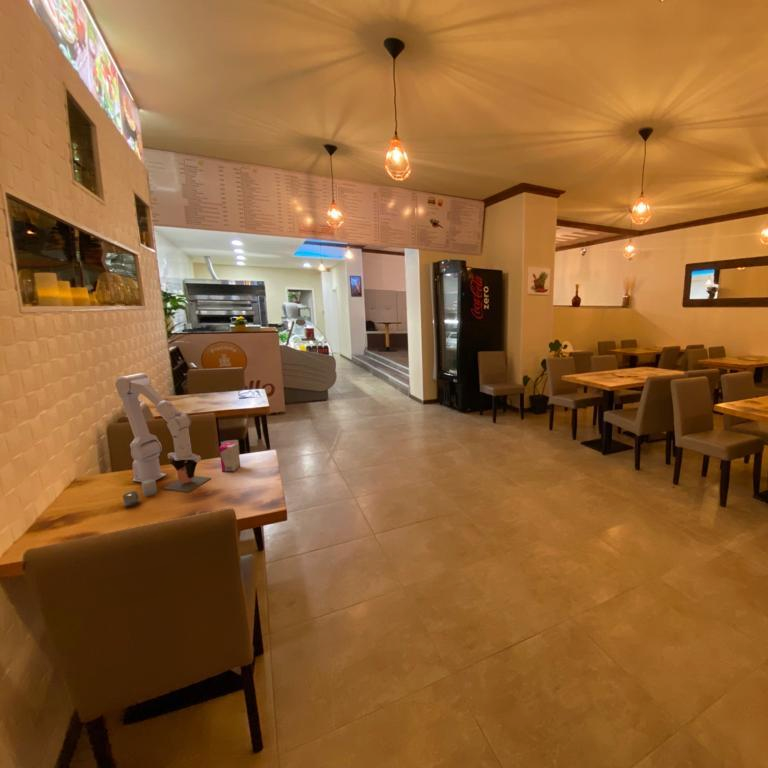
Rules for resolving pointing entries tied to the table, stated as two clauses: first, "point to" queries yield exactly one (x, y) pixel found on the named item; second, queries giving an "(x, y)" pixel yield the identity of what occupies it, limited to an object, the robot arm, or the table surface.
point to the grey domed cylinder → (149, 487)
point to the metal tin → (131, 499)
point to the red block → (183, 475)
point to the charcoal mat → (187, 484)
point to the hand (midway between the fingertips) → (186, 476)
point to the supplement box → (229, 457)
